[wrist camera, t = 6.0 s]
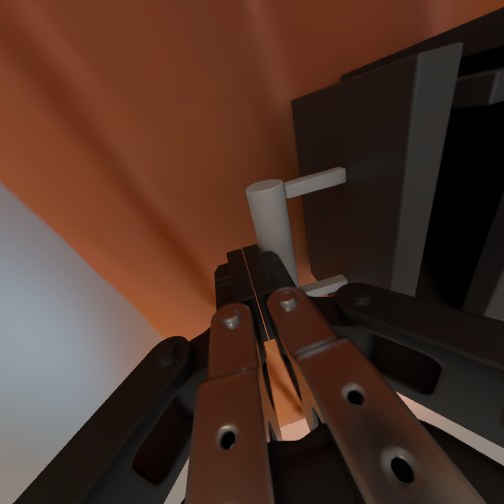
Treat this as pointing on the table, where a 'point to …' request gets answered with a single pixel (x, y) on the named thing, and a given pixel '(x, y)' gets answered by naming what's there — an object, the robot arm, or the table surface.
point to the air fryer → (500, 233)
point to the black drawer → (393, 178)
